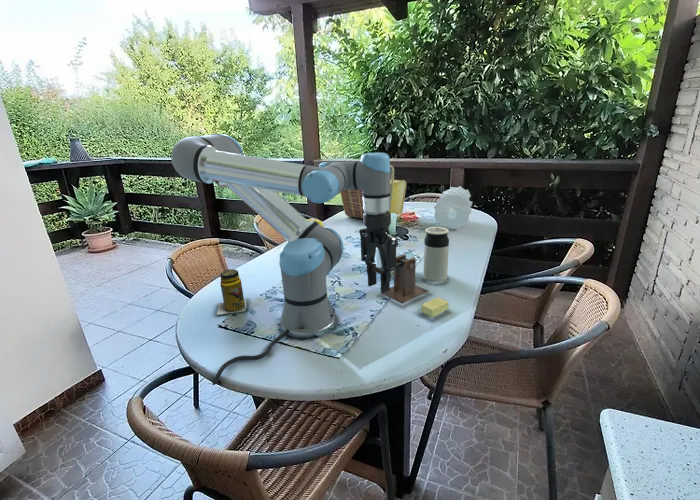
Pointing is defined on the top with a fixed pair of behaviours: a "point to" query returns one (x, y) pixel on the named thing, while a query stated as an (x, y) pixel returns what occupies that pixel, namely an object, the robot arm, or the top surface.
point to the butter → (434, 306)
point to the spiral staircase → (453, 208)
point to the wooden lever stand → (405, 282)
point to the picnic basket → (355, 198)
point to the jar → (377, 256)
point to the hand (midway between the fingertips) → (378, 287)
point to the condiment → (231, 293)
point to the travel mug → (436, 254)
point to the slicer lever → (382, 269)
